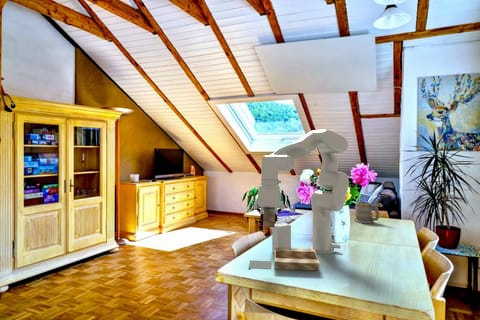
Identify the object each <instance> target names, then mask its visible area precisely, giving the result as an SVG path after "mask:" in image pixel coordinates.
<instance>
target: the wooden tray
mask: <svg viewBox="0 0 480 320" xmlns="http://www.w3.org/2000/svg"><path fill="white" fill-rule="evenodd" d="M273 254H274V255H273V256H274V257H273V258H274V260H273V263H274V264H273V265H274V267H273V268H274V269H275V270H277V269H279V270H299V271H319V270H320V269H319V265H321V261H320V260H319V257H318V255H317V254H318V253H316V252H315V250H314V249H309V248H298V247H297V248H296V247H295V248H293V247H291V248H274V252H273Z"/></svg>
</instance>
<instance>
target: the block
mask: <svg viewBox="0 0 480 320" xmlns="http://www.w3.org/2000/svg"><path fill="white" fill-rule="evenodd" d="M262 227H263V228H272V227H275V209H274V208H264V210H263V223H262Z"/></svg>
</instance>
